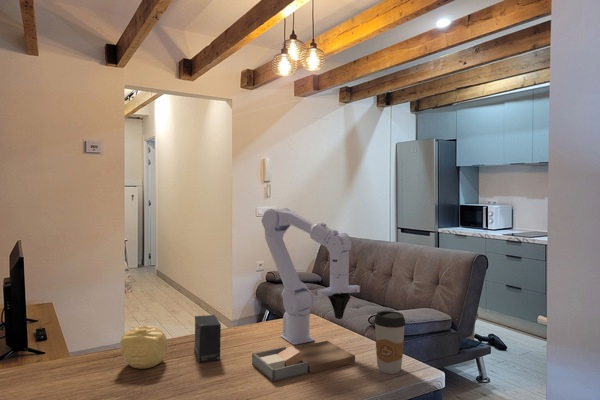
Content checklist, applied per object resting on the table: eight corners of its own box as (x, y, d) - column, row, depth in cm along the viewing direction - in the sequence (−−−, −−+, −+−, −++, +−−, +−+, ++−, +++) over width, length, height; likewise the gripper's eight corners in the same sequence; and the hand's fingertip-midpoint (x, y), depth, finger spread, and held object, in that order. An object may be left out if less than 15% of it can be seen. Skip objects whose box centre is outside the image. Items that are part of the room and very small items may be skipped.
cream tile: (259, 366, 112) (259, 357, 112) (276, 363, 115) (276, 354, 115) (267, 373, 108) (267, 364, 108) (284, 369, 111) (284, 360, 111)
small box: (221, 360, 118) (222, 323, 118) (198, 363, 115) (198, 326, 115) (215, 347, 128) (215, 313, 128) (193, 350, 125) (193, 315, 125)
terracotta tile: (278, 362, 115) (276, 354, 115) (293, 353, 118) (291, 345, 117) (287, 369, 111) (284, 361, 110) (302, 359, 113) (300, 351, 113)
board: (284, 356, 121) (284, 349, 121) (327, 346, 129) (327, 340, 129) (310, 374, 109) (310, 366, 109) (355, 362, 117) (355, 355, 117)
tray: (252, 363, 115) (252, 353, 115) (284, 356, 121) (284, 346, 121) (273, 382, 104) (273, 370, 104) (308, 373, 109) (308, 362, 109)
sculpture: (114, 373, 109) (114, 332, 109) (134, 355, 121) (134, 318, 121) (157, 373, 108) (157, 333, 108) (173, 356, 120) (173, 319, 120)
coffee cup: (369, 371, 111) (370, 316, 111) (378, 360, 118) (379, 308, 118) (400, 378, 107) (401, 320, 107) (408, 366, 114) (408, 312, 114)
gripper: (327, 278, 119) (326, 325, 119) (366, 273, 126) (365, 317, 126) (313, 274, 125) (313, 318, 125) (352, 269, 132) (351, 312, 132)
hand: (338, 318), depth 126 cm, fingers closed
